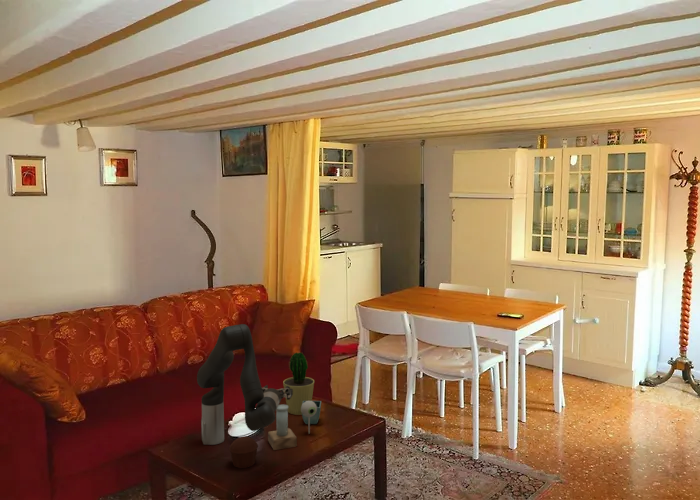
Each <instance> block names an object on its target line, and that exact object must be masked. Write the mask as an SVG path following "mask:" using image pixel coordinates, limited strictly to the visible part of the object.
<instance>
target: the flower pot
mask: <svg viewBox="0 0 700 500" xmlns="http://www.w3.org/2000/svg"><path fill="white" fill-rule="evenodd" d="M312 401H313V402H314V403H315V404H316V406H317V411H316V414H315V415H314V416H312V417H310V425H317V424H318V422H319V419H320V415H321V409H322V407H321V406H322V400H312ZM304 402H306V401H303V403H304ZM303 403H302V404H303ZM301 417H302V420H303V422H304V423H305V425H308V417H306V416H304V415H303V414H302V415H301Z"/></svg>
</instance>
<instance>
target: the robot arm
mask: <svg viewBox="0 0 700 500" xmlns="http://www.w3.org/2000/svg"><path fill="white" fill-rule="evenodd" d="M254 348H255V347H254V343H253V337H252V332H251V329H250V327H249V326H248V325H247V324H244V323H241V324H235V325H228V326H225V327H223V328H222V329H221V330H220V332H219V335H218V338H217V341H216V342H215V345H214V347H213V349H211V350H212V351H211V352H210V353H209V355H208V357H207V359H206V360H205V362H204V363H203V364H202V365H201V366H200V368H199V369H198V370H197V373H196V374H197V375H196V382H197V385H198V386H199V387H200V388H202V389H211V390H210V391H208V392H206V393H205V394H203V395H202V396H201V418H200V419H201V420H200V423H201V425H200V426H201V441H202V444H203V445H209V446H210V445H211V446H214V445H218V444H219V445H220V444H221V443H224V441H225V413H224V411H225V410H224V409H225V407H224V403H225V402H224V395H225V394H224V393H225V392H224V391H225V389H224V388H225V371H227V370H228V368H230V366H231V364H232V363H233V361H234V357H235V355H234V352H233V351H238V350H244V364H243V366H242V369H241V373H240V377H239V383H240V389H241V392H242V395H243V396H242V397H243V398H244V421H245V426H246V427H247V428H248V430H249V431H252V432H255V431H259V430H260V429H263V428H265V427H268V426H269V425H271V424H273V423H274V422H275V421H276V413H275V412H276V409H277V407H278V406H279V405H280V403H281V402H282V399H284V398H285V397H286V398H287V399H288V400H289V399H290V398H291V397H292V395H293V389H290V387H288V386H286V388H285V389H284V387H283V388H279V389H276V388H272V387H269V386H268V384H265V386H263V387H262V383H261V380H260V377H259V373H258V366H257V361H256V354H255V349H254ZM286 398H285V399H286Z"/></svg>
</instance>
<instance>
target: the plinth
mask: <svg viewBox="0 0 700 500" xmlns="http://www.w3.org/2000/svg"><path fill="white" fill-rule="evenodd" d="M297 438H298V437H297V436H296V435H295V433H294V432H293V430H292V429H291V428H288V435H286V436H278V435H277V429H276V430H272V431H270V430H269V431H267V442H268V443H269V445H270V446H271V448H272V450H273V451H276V450H277V451H278V450H282V449H283V450H284V449H290V448H295V447H297V446H298V445H297V444H298V443H297V441H298V440H297Z"/></svg>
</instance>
